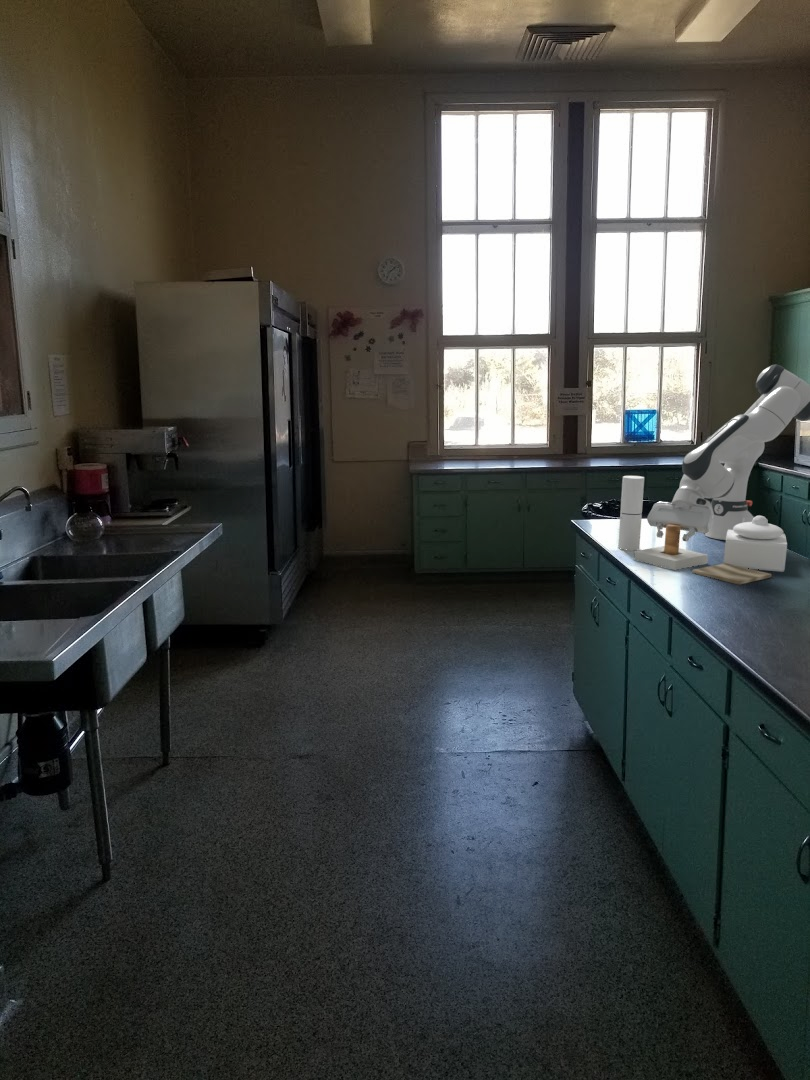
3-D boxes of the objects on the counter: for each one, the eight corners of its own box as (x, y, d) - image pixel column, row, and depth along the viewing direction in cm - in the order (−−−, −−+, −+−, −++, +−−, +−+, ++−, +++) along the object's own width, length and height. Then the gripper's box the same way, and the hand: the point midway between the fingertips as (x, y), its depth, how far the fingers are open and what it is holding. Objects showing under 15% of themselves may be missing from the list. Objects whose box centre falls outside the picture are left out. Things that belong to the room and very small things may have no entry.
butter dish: (723, 566, 252) (727, 517, 248) (725, 555, 268) (729, 508, 264) (784, 572, 245) (789, 522, 241) (782, 560, 261) (787, 512, 258)
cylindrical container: (628, 551, 271) (633, 479, 266) (613, 547, 277) (618, 476, 272) (643, 549, 274) (648, 477, 269) (629, 545, 281) (633, 475, 275)
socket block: (666, 554, 267) (667, 545, 267) (707, 563, 254) (708, 554, 254) (634, 560, 259) (635, 551, 258) (674, 570, 246) (675, 560, 245)
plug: (669, 559, 260) (672, 523, 257) (680, 562, 256) (683, 526, 253) (660, 561, 257) (663, 525, 255) (671, 564, 254) (674, 527, 251)
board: (724, 566, 251) (725, 563, 251) (771, 577, 238) (771, 574, 238) (692, 572, 243) (692, 569, 243) (738, 584, 230) (739, 581, 229)
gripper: (653, 495, 264) (638, 528, 259) (714, 502, 251) (701, 537, 246) (657, 506, 268) (643, 539, 263) (718, 514, 255) (705, 548, 250)
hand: (671, 538), depth 254 cm, fingers open, 7 cm apart
